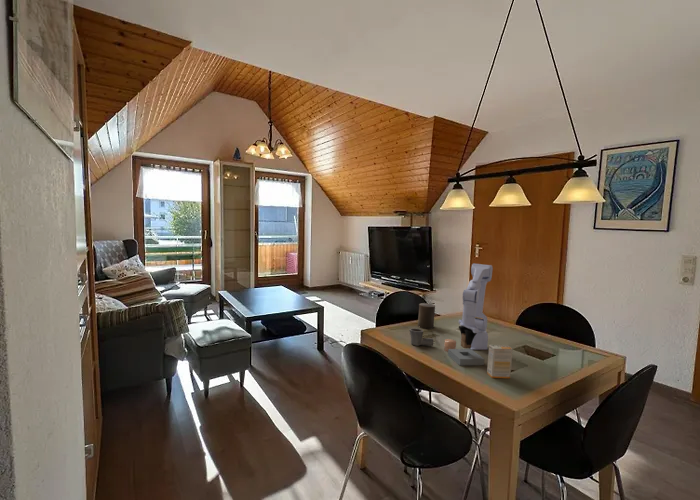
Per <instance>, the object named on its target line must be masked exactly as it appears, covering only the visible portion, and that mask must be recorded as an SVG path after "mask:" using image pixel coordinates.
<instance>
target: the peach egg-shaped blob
mask: <svg viewBox="0 0 700 500" xmlns="http://www.w3.org/2000/svg"><path fill="white" fill-rule="evenodd" d="M443 344H444V346H443V347H444V348H443V350H444V351H445V352H447V353H448V349H457V341H456V340H455V339H452V338H446V339H444V343H443Z"/></svg>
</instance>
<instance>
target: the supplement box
mask: <svg viewBox="0 0 700 500" xmlns="http://www.w3.org/2000/svg"><path fill="white" fill-rule="evenodd" d="M513 350H514V349H513V348H512V347H511V346H509V345H508V344H488V354H487V355H488V356H487V357H488V358H487V369H486V374H487V375H488V376H489V377H490V379H511V371H512V360H513Z"/></svg>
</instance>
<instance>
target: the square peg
mask: <svg viewBox="0 0 700 500" xmlns="http://www.w3.org/2000/svg"><path fill="white" fill-rule="evenodd" d="M460 336H461V335H460ZM460 339H461V341H460V346H461V347H462V349H470V348H471V345H467V344H466V334H465V333H462V336H461V338H460Z"/></svg>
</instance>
